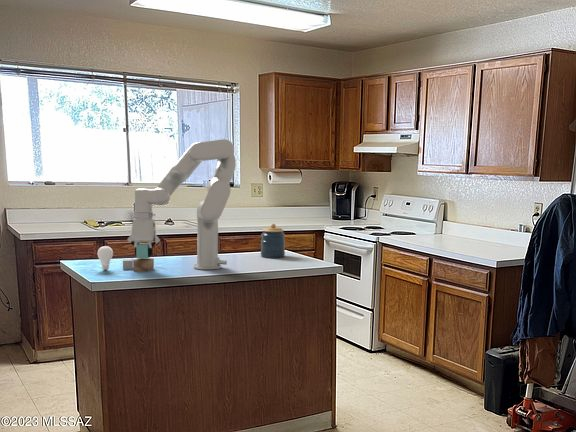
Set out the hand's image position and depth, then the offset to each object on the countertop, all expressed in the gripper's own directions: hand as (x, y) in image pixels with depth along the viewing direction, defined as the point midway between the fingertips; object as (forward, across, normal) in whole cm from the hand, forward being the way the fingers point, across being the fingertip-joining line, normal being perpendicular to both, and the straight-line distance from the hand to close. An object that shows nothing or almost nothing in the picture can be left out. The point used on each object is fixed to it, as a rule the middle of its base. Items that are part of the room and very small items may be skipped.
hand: (143, 255), depth 237 cm
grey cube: (+7, +8, -2) cm, 11 cm away
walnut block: (+7, 0, 0) cm, 7 cm away
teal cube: (+1, 0, 0) cm, 1 cm away
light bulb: (+7, +16, +5) cm, 18 cm away
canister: (+7, -54, -48) cm, 72 cm away
